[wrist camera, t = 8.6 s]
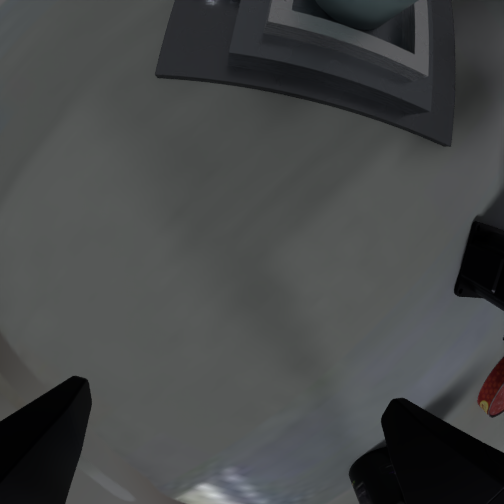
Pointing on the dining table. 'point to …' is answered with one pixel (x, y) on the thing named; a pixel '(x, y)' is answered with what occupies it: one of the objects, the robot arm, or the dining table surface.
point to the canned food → (493, 391)
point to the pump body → (364, 11)
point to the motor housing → (322, 57)
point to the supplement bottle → (376, 479)
